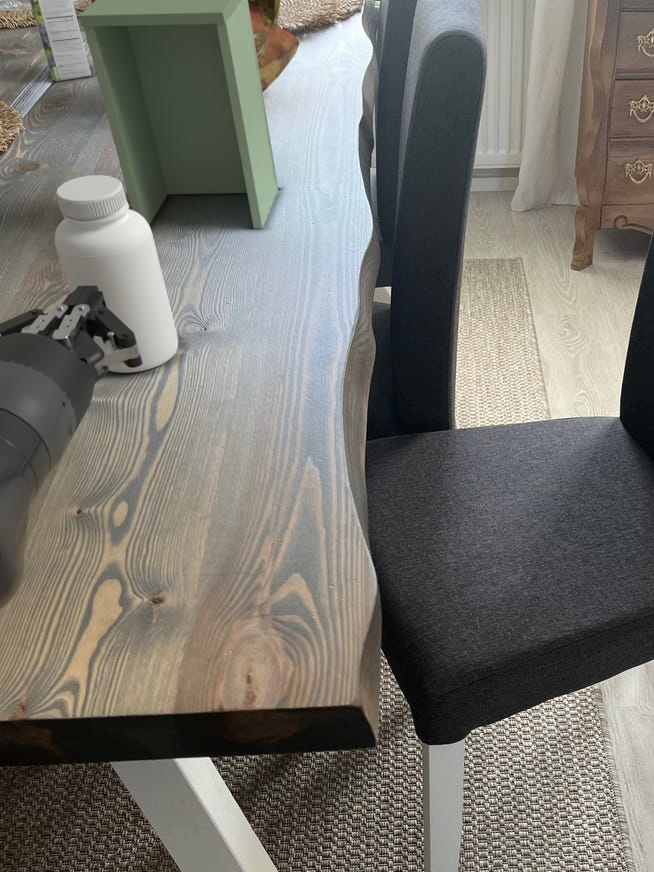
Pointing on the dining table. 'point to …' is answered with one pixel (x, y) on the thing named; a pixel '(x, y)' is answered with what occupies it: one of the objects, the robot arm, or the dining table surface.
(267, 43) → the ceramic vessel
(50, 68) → the syrup box
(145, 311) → the pill bottle
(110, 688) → the dining table surface
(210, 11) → the cabinet
